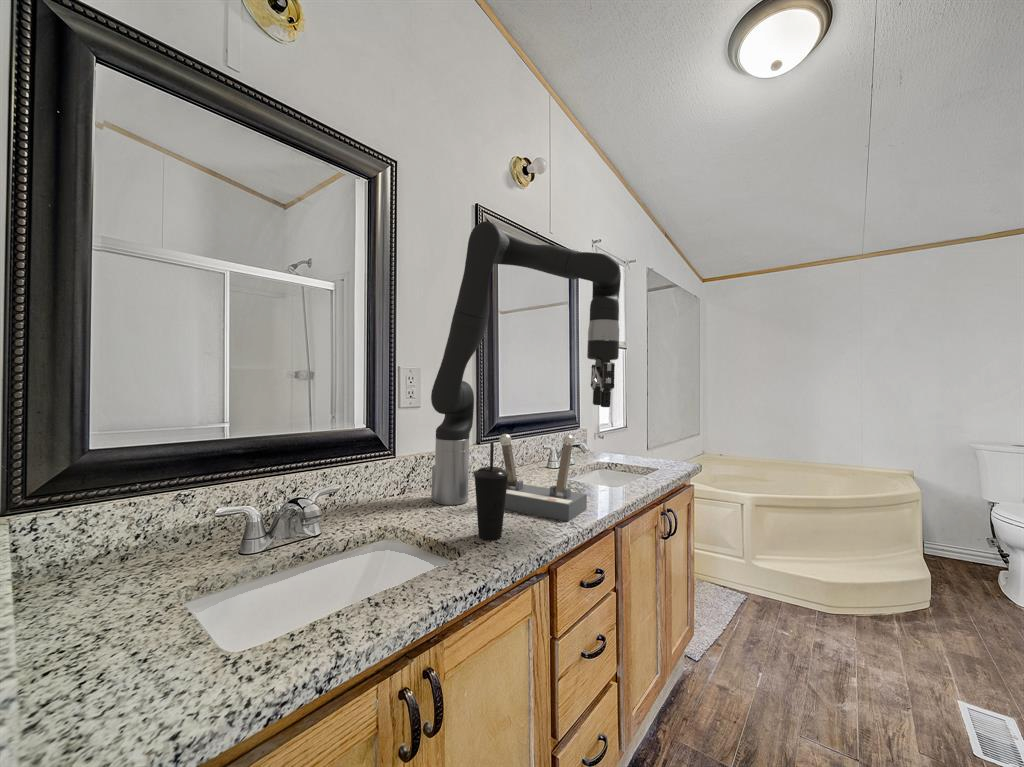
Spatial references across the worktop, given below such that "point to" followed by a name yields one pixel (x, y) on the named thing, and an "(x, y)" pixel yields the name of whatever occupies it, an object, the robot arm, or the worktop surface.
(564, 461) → the lever
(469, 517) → the worktop surface
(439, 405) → the robot arm
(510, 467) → the lever
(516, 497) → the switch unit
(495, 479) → the drinking cup
